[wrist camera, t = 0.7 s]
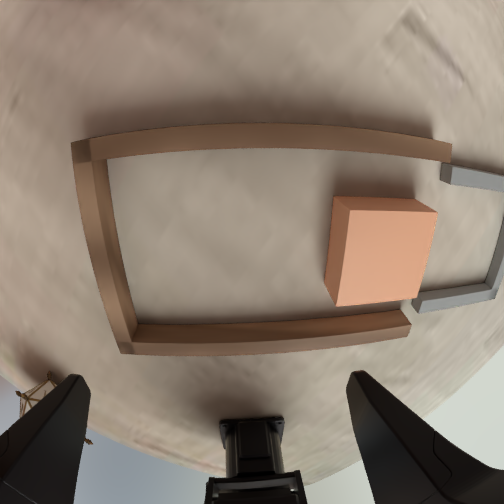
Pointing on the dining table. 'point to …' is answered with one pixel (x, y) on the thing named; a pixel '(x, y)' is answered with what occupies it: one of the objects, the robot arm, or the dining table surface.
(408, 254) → the terracotta block
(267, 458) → the robot arm
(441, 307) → the grey bay
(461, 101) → the dining table surface
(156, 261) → the dining table surface
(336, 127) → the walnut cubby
